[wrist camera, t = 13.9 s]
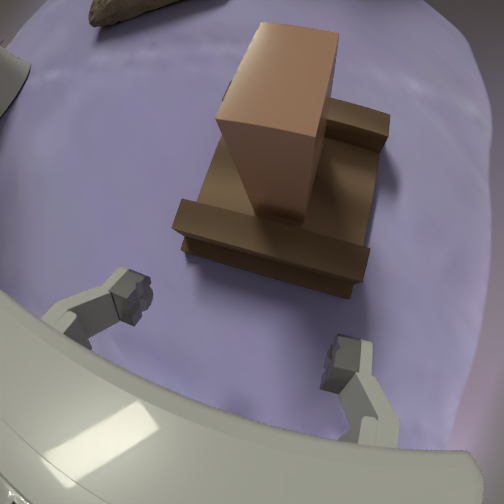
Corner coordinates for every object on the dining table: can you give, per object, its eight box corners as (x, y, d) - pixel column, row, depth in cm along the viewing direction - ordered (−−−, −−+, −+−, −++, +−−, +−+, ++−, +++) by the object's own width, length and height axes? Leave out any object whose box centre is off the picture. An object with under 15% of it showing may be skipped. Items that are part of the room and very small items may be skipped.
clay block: (303, 223, 20) (315, 137, 9) (253, 210, 20) (215, 118, 10) (322, 148, 20) (339, 33, 10) (276, 137, 21) (261, 22, 10)
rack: (347, 298, 19) (358, 298, 16) (184, 251, 21) (166, 243, 18) (380, 127, 21) (391, 105, 18) (241, 96, 23) (234, 72, 20)
